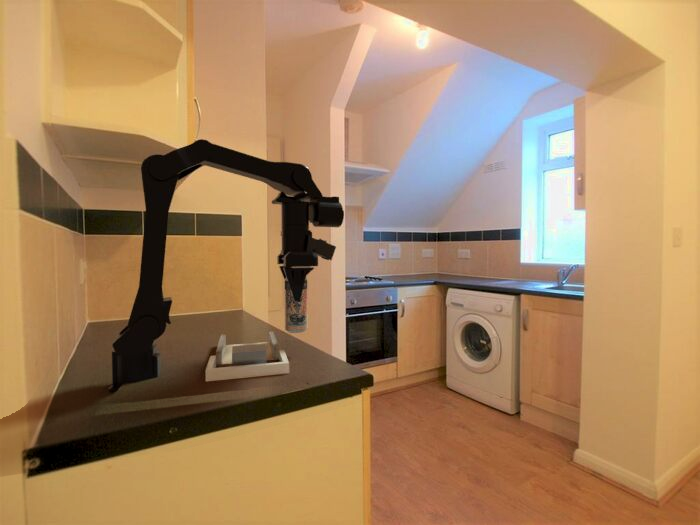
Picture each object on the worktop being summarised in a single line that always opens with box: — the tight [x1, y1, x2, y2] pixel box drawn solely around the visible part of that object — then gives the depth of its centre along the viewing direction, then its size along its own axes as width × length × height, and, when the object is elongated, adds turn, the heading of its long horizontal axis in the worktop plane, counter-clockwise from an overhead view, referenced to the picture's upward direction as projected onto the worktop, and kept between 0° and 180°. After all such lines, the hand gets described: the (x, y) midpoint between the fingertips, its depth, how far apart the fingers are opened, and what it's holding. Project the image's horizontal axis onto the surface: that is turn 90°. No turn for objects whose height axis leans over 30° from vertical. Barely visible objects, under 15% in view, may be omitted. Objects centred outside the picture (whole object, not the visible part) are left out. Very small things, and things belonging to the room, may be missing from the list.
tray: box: [205, 349, 290, 382], centre depth 66 cm, size 14×9×3 cm, turn 106°
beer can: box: [284, 277, 309, 334], centre depth 76 cm, size 5×5×12 cm
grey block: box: [231, 344, 268, 366], centre depth 66 cm, size 6×5×4 cm
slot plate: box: [215, 331, 280, 366], centre depth 78 cm, size 12×15×4 cm
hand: (295, 299), depth 76 cm, fingers closed on beer can, 5 cm apart
